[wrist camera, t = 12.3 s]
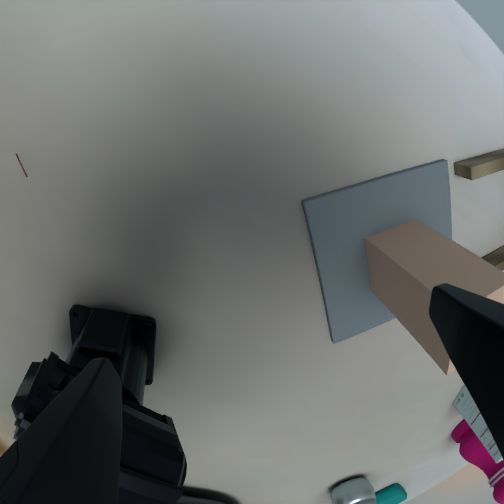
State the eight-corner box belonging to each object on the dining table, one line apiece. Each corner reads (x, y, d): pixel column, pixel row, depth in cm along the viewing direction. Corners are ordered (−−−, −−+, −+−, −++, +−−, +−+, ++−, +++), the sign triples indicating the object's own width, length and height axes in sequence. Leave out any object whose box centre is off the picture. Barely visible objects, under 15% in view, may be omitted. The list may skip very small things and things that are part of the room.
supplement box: (503, 356, 34) (553, 409, 22) (479, 395, 37) (522, 448, 25) (476, 363, 32) (531, 425, 21) (450, 404, 35) (495, 466, 24)
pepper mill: (443, 444, 41) (494, 524, 23) (456, 420, 38) (517, 507, 20) (473, 427, 42) (524, 500, 23) (487, 403, 39) (546, 480, 21)
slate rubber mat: (331, 340, 25) (333, 343, 25) (301, 200, 21) (304, 202, 20) (446, 288, 26) (450, 291, 25) (443, 159, 21) (447, 160, 20)
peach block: (371, 290, 24) (446, 375, 14) (364, 237, 22) (456, 313, 13) (418, 270, 24) (500, 340, 15) (415, 219, 22) (513, 279, 13)
